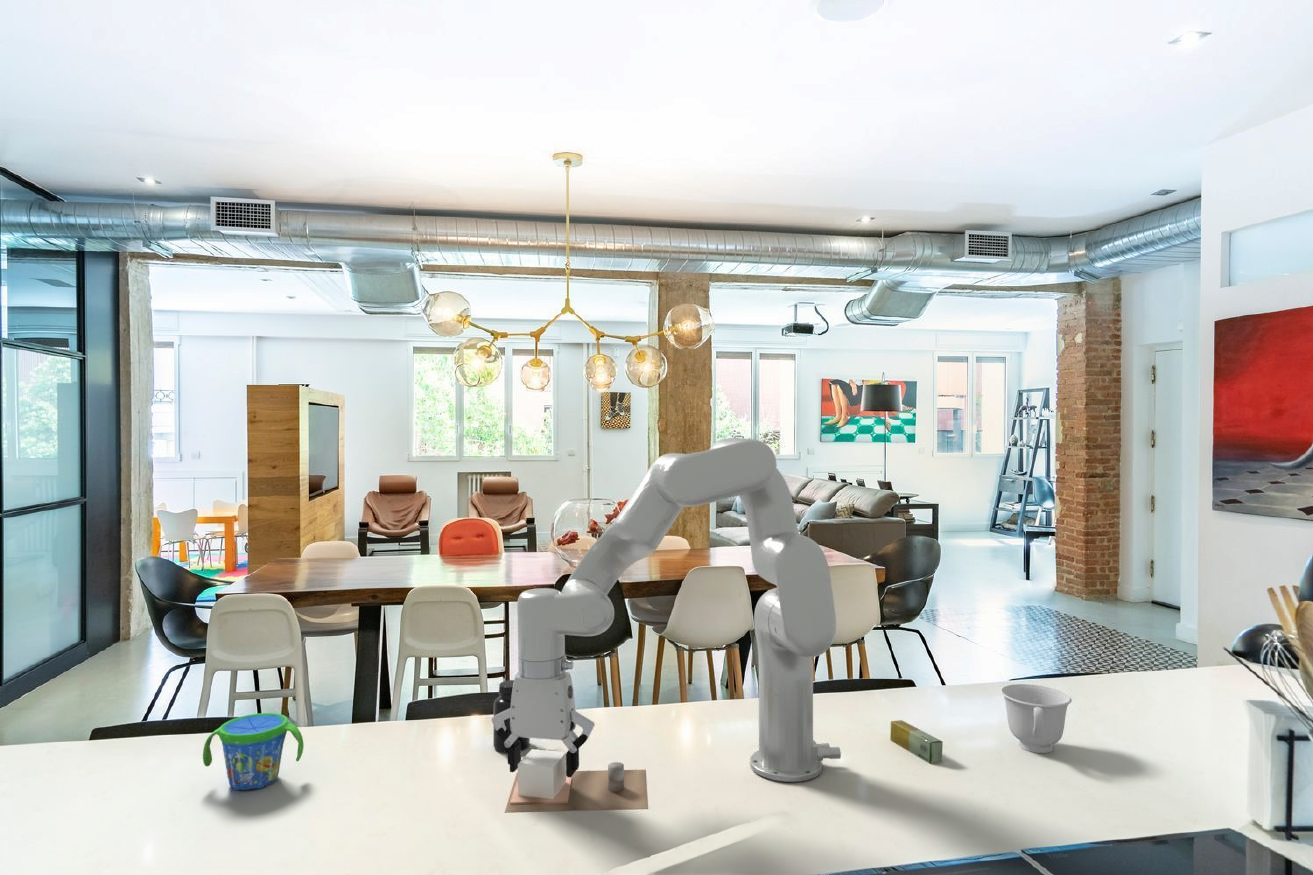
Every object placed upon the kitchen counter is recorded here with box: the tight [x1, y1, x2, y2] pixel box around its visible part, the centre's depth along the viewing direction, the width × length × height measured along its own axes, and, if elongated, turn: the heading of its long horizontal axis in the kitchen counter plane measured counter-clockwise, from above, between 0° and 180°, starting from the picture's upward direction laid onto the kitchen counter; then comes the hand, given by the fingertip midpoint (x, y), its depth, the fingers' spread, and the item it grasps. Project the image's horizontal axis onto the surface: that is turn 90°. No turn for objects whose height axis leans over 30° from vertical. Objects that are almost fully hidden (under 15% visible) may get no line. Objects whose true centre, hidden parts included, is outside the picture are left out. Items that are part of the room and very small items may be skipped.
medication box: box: [889, 719, 944, 765], centre depth 146 cm, size 12×3×4 cm, turn 20°
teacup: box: [1000, 683, 1073, 754], centre depth 146 cm, size 12×15×10 cm
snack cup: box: [202, 712, 305, 791], centre depth 134 cm, size 16×10×10 cm
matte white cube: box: [517, 748, 567, 799], centre depth 128 cm, size 6×6×5 cm
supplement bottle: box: [492, 679, 531, 754], centre depth 149 cm, size 7×7×12 cm
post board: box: [504, 761, 649, 813], centre depth 128 cm, size 22×14×5 cm, turn 92°
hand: (543, 771), depth 128 cm, fingers open, 9 cm apart
